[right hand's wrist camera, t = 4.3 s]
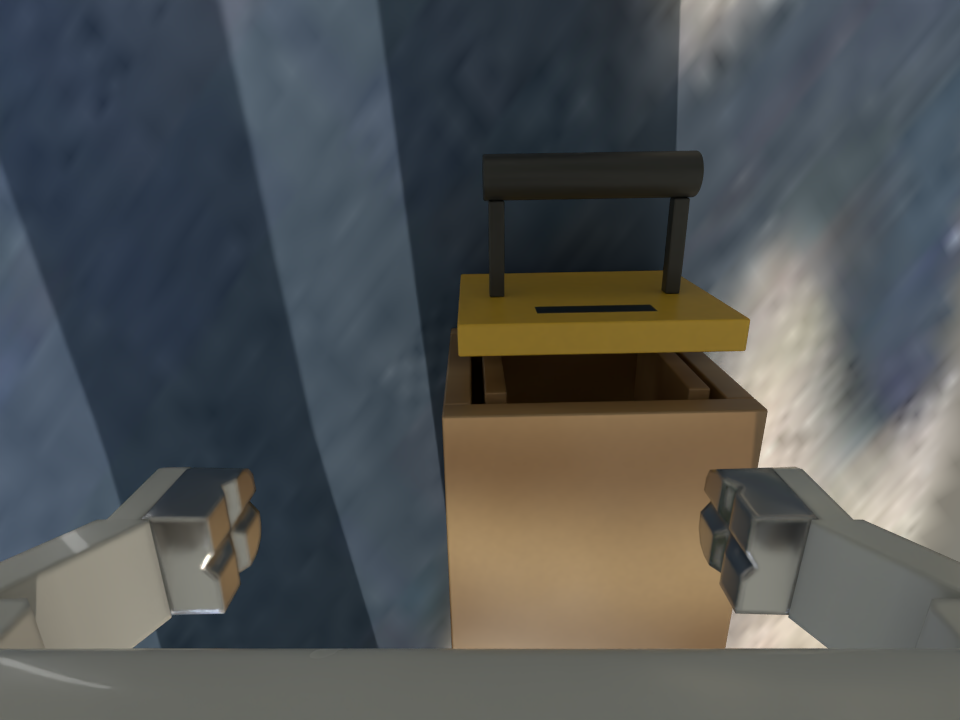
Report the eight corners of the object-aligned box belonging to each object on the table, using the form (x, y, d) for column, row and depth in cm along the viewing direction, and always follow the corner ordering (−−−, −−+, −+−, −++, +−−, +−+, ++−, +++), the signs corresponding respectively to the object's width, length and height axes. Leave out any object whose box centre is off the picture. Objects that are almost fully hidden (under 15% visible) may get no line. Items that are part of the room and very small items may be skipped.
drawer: (457, 153, 25) (451, 156, 18) (685, 149, 26) (777, 151, 18) (469, 589, 34) (469, 719, 26) (639, 585, 34) (689, 714, 27)
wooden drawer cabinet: (451, 327, 29) (441, 416, 20) (671, 323, 30) (768, 409, 20) (461, 632, 37) (458, 806, 27) (639, 628, 37) (699, 799, 27)
